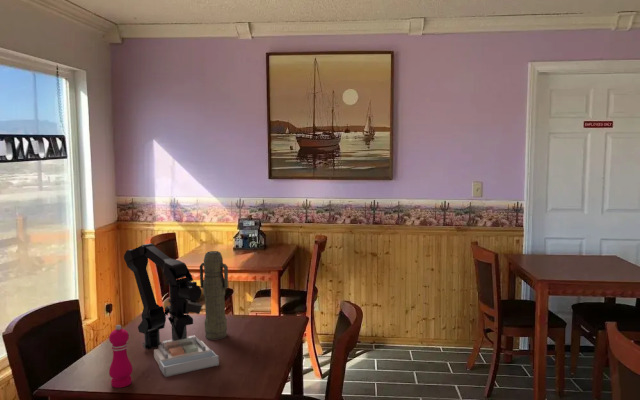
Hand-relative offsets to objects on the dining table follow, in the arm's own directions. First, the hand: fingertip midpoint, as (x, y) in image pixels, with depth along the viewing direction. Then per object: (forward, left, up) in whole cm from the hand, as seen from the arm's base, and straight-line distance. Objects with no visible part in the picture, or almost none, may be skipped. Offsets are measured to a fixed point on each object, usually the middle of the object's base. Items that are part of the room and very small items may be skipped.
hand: (179, 337), depth 199 cm
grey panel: (0, 0, -4) cm, 4 cm away
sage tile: (+5, +2, -4) cm, 7 cm away
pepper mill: (+15, -23, -7) cm, 28 cm away
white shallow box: (+3, 0, -7) cm, 7 cm away
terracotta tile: (+5, -3, -4) cm, 7 cm away
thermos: (-12, +18, -7) cm, 23 cm away
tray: (+13, 0, -7) cm, 14 cm away
